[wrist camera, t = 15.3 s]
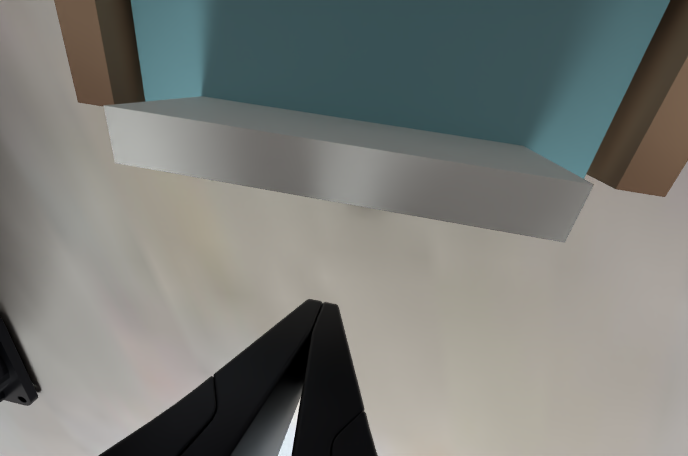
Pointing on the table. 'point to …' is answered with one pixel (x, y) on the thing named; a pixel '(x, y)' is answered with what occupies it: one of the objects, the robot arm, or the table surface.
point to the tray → (388, 100)
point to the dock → (607, 166)
